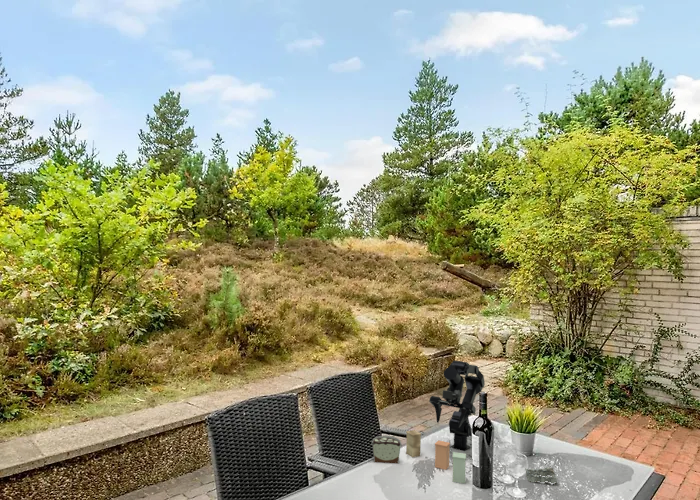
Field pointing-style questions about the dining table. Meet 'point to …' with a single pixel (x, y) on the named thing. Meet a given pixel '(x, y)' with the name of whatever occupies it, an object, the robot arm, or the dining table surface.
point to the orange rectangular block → (442, 454)
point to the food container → (386, 449)
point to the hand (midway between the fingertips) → (448, 424)
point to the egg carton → (535, 475)
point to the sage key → (459, 467)
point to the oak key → (413, 443)
